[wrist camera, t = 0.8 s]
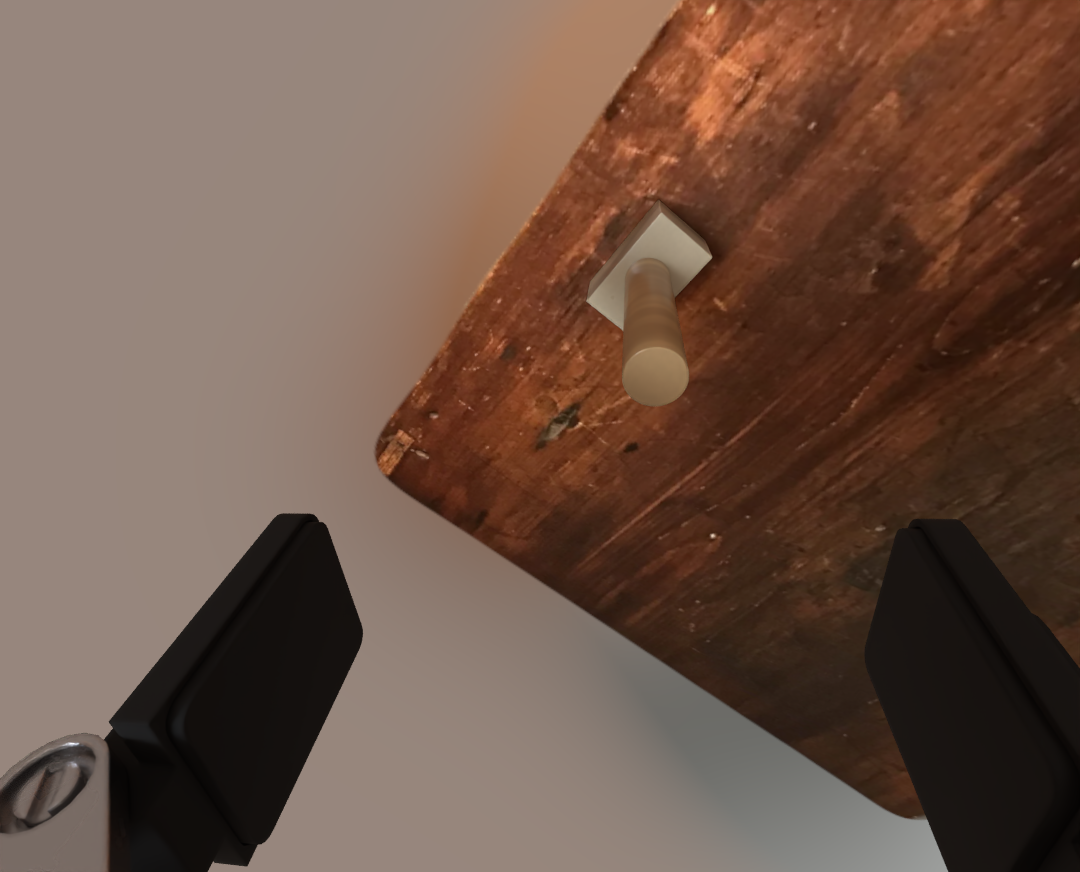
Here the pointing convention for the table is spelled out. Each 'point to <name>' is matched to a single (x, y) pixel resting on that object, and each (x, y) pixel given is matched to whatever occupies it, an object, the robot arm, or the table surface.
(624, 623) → the table surface
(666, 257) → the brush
